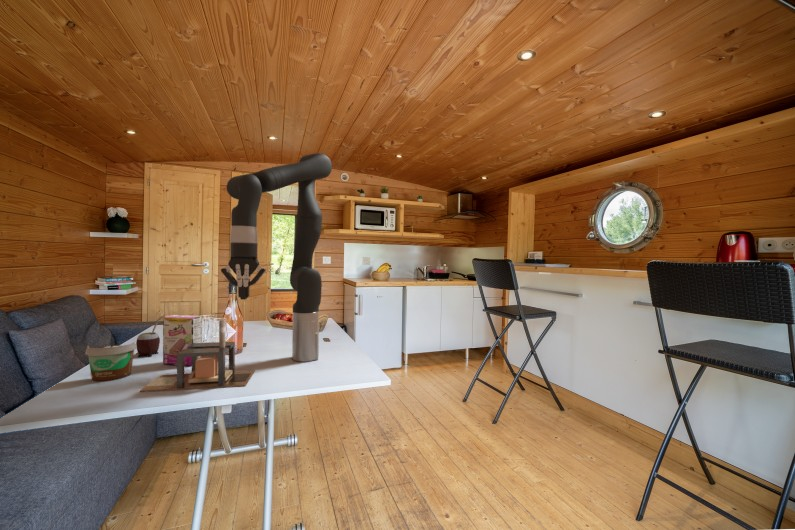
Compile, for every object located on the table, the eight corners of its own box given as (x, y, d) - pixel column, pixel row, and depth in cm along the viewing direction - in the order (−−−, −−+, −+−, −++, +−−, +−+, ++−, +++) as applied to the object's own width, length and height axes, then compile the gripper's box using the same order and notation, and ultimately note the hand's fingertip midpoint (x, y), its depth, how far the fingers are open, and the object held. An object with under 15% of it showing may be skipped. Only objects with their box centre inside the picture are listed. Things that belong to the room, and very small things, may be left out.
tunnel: (255, 371, 112) (255, 340, 112) (245, 386, 99) (245, 351, 99) (162, 375, 107) (162, 343, 107) (139, 392, 94) (139, 355, 94)
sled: (232, 373, 108) (232, 318, 108) (225, 380, 101) (226, 322, 101) (197, 374, 106) (197, 318, 106) (188, 382, 99) (188, 323, 99)
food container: (78, 385, 98) (78, 350, 98) (86, 379, 104) (85, 345, 103) (132, 379, 104) (132, 346, 104) (136, 373, 109) (136, 341, 109)
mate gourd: (134, 355, 128) (134, 315, 128) (159, 351, 134) (159, 312, 134) (139, 359, 124) (139, 317, 123) (165, 354, 129) (165, 314, 129)
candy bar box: (161, 365, 117) (161, 316, 117) (172, 360, 122) (172, 314, 122) (192, 366, 116) (192, 317, 116) (202, 362, 121) (202, 315, 121)
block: (219, 371, 106) (219, 355, 106) (214, 377, 101) (214, 360, 101) (201, 372, 105) (201, 355, 105) (195, 377, 100) (195, 360, 100)
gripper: (269, 242, 109) (268, 297, 110) (224, 241, 107) (224, 297, 107) (264, 241, 102) (264, 300, 102) (216, 240, 99) (216, 301, 100)
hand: (243, 299), depth 105 cm, fingers closed
